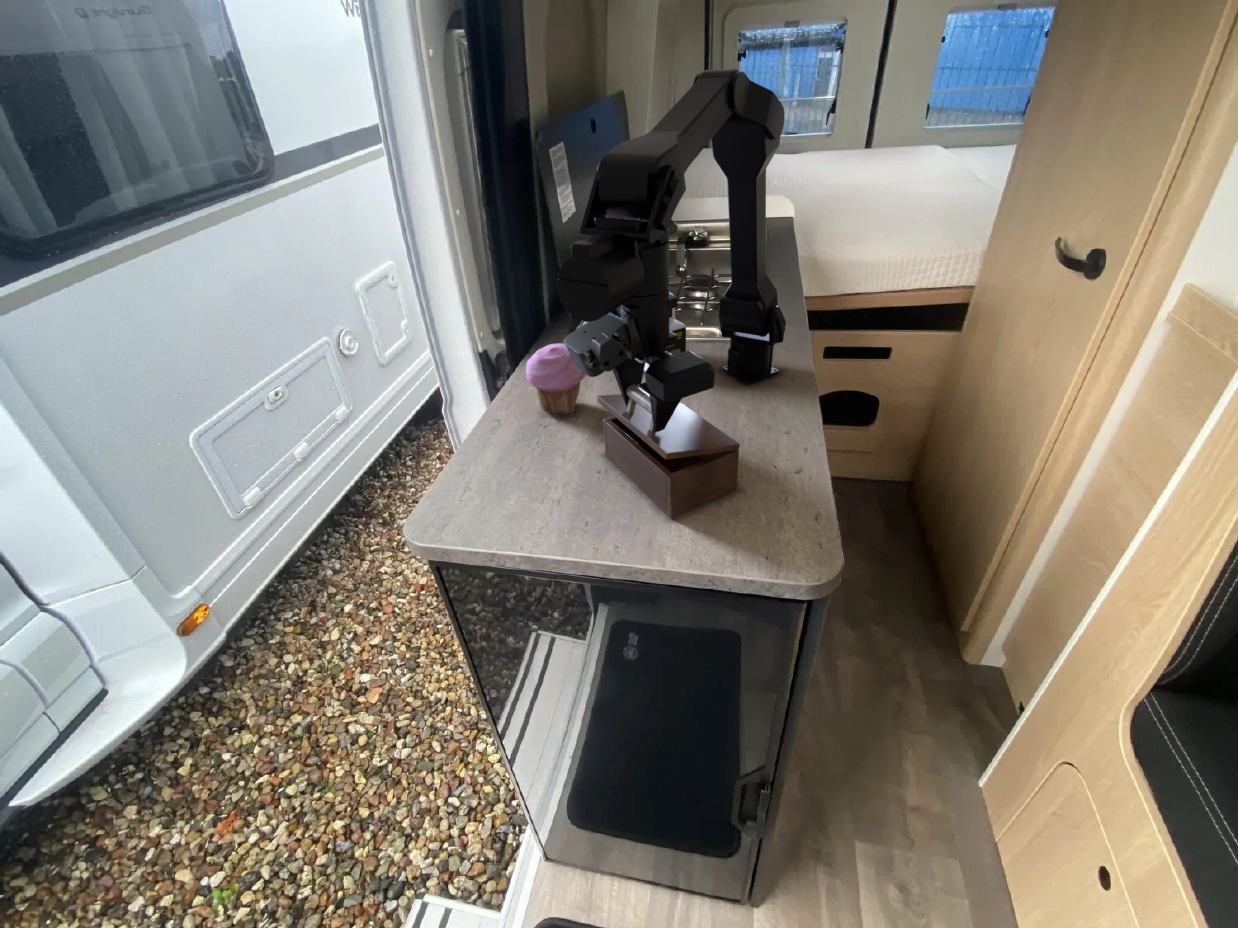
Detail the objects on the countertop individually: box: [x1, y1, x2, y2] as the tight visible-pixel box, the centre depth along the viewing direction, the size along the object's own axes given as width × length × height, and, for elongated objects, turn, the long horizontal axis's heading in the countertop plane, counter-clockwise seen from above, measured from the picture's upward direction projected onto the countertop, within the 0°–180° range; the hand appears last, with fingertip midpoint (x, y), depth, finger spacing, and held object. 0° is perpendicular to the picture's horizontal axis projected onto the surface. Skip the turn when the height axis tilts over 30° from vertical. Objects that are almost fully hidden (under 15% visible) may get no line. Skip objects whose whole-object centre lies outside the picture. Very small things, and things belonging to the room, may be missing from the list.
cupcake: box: [525, 342, 587, 415], centre depth 90 cm, size 9×9×10 cm
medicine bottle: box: [644, 291, 687, 372], centre depth 100 cm, size 7×7×12 cm
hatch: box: [596, 385, 741, 460], centre depth 72 cm, size 10×16×4 cm
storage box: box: [602, 414, 740, 519], centre depth 76 cm, size 10×16×6 cm, turn 30°
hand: (644, 418), depth 71 cm, fingers closed on hatch, 6 cm apart
